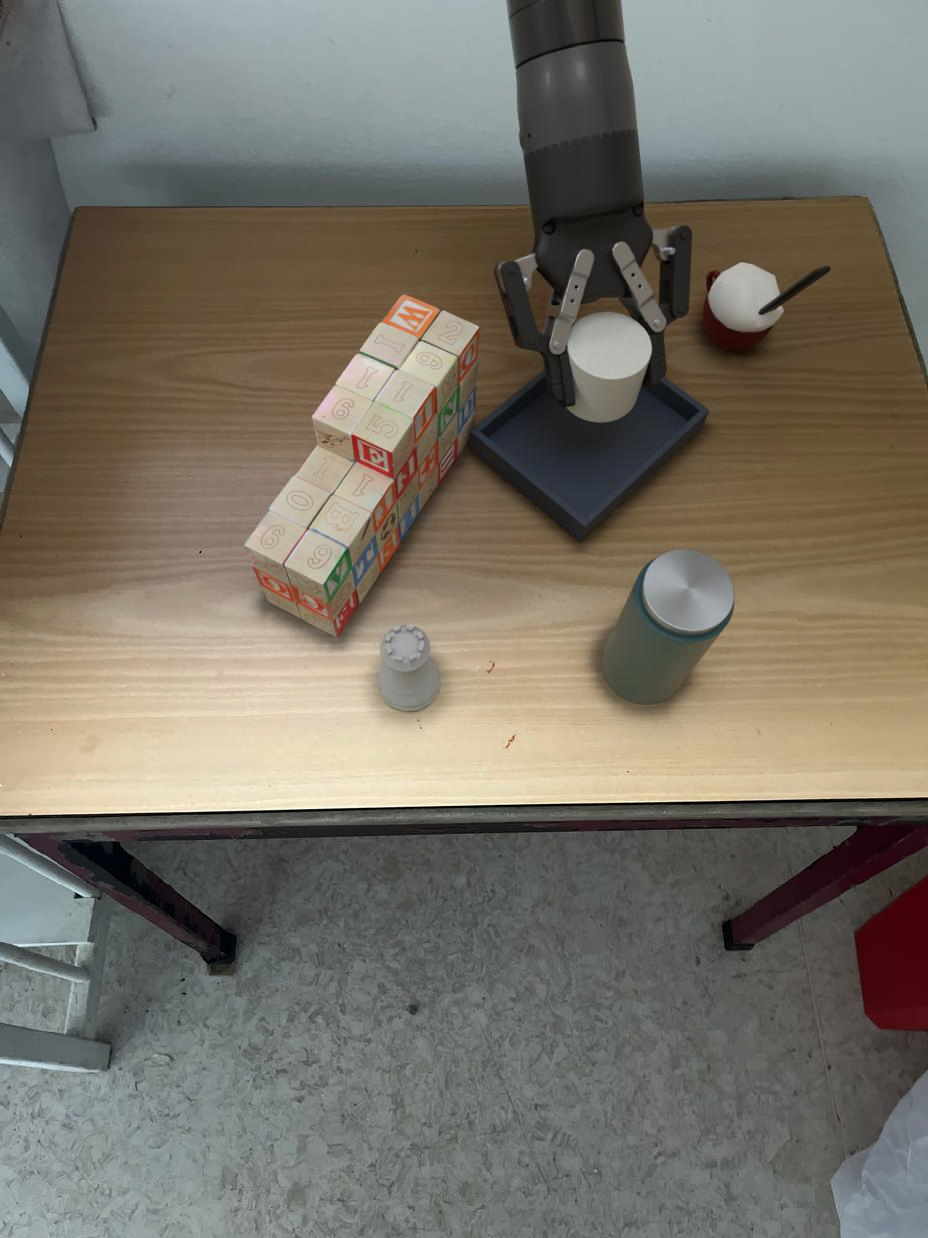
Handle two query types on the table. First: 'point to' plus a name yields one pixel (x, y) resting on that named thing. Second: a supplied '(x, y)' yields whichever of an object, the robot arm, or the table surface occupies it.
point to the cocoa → (746, 304)
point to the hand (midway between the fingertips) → (609, 394)
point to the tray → (583, 449)
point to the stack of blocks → (369, 464)
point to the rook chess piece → (407, 669)
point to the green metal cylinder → (667, 625)
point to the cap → (607, 365)
